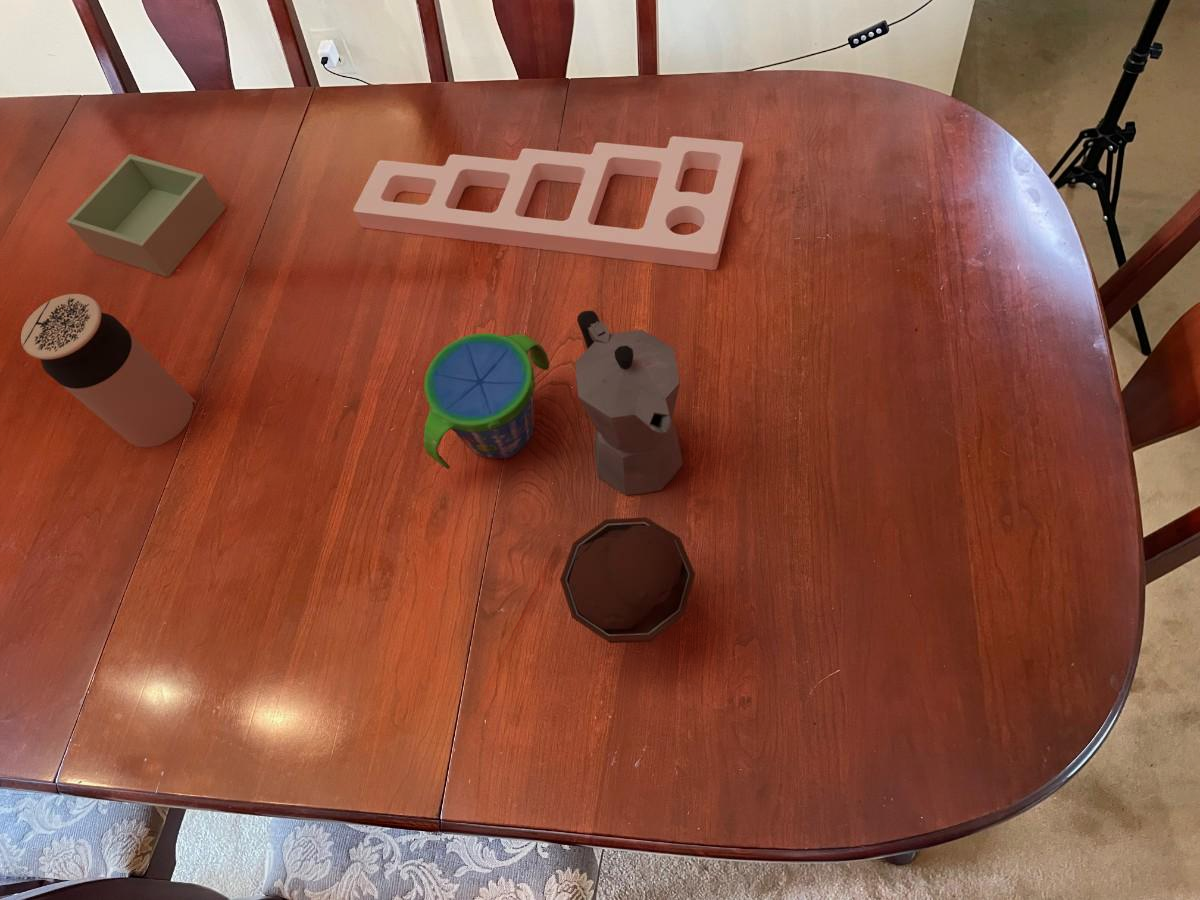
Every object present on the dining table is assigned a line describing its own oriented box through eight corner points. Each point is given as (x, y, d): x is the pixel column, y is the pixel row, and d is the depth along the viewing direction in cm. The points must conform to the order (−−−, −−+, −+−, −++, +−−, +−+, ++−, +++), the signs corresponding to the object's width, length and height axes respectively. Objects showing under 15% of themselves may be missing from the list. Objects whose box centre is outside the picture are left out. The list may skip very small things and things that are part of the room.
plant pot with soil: (667, 542, 81) (660, 468, 68) (712, 650, 75) (713, 592, 62) (562, 579, 80) (535, 512, 67) (599, 691, 75) (577, 641, 62)
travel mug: (213, 401, 95) (118, 298, 79) (177, 462, 92) (69, 366, 76) (155, 387, 97) (50, 284, 81) (117, 446, 93) (-1, 350, 78)
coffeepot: (712, 484, 83) (714, 382, 68) (629, 529, 82) (611, 435, 66) (636, 375, 91) (622, 260, 75) (558, 414, 89) (527, 305, 74)
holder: (359, 227, 106) (352, 211, 104) (409, 128, 114) (403, 112, 112) (716, 270, 97) (716, 254, 94) (743, 159, 105) (744, 142, 102)
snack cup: (474, 511, 85) (447, 462, 76) (412, 448, 89) (380, 395, 80) (587, 414, 89) (575, 357, 80) (523, 358, 93) (504, 299, 85)
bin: (94, 253, 109) (65, 221, 104) (154, 187, 114) (129, 153, 109) (168, 277, 105) (141, 245, 100) (226, 208, 110) (204, 174, 106)
